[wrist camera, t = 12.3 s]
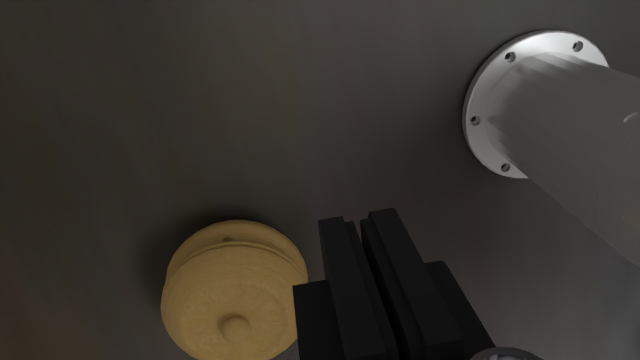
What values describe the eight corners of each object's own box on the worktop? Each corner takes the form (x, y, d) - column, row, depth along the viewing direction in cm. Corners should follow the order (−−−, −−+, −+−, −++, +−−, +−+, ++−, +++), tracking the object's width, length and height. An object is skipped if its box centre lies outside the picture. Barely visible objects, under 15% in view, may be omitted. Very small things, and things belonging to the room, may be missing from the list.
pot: (297, 193, 42) (310, 259, 33) (308, 301, 47) (322, 383, 38) (159, 210, 41) (133, 282, 32) (186, 318, 47) (170, 406, 38)
